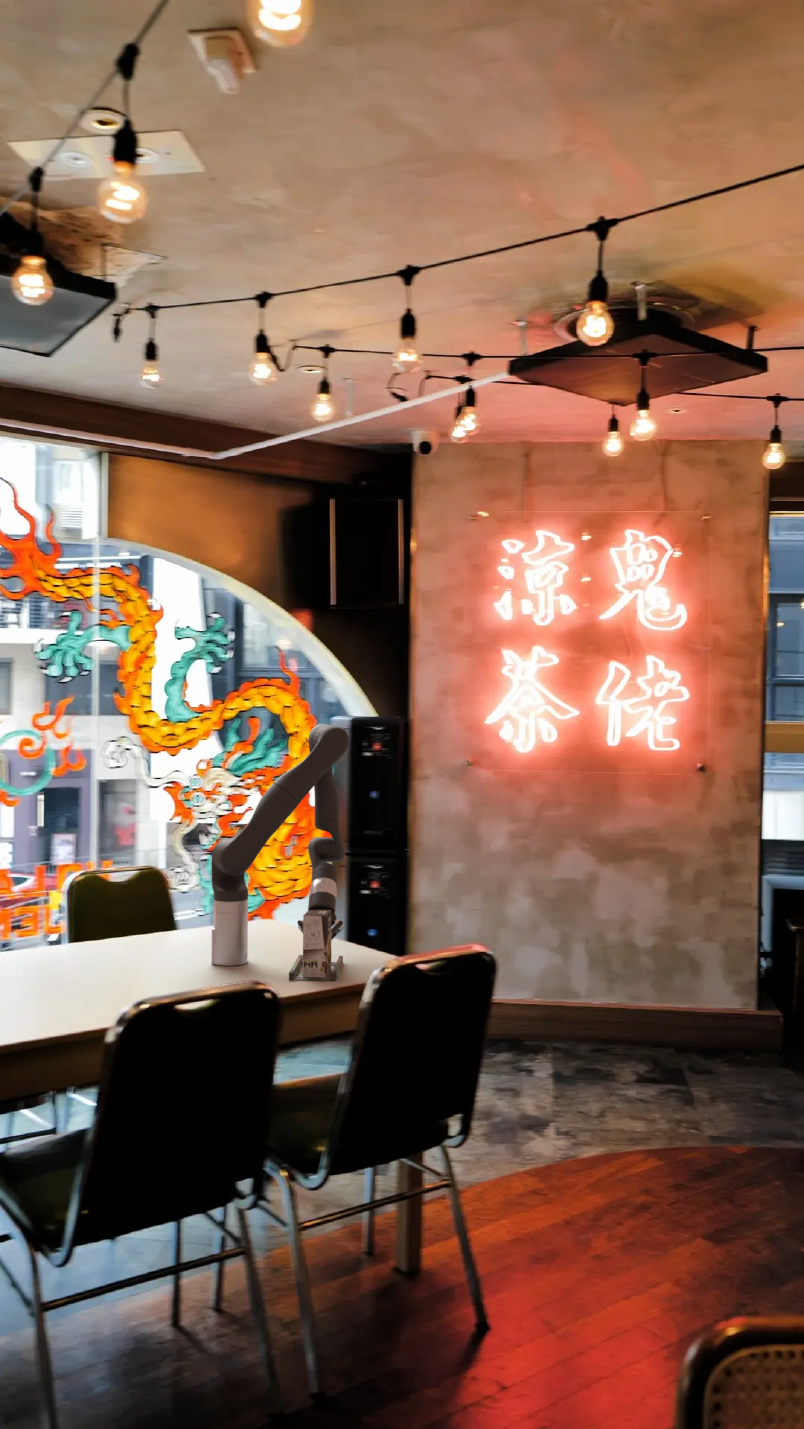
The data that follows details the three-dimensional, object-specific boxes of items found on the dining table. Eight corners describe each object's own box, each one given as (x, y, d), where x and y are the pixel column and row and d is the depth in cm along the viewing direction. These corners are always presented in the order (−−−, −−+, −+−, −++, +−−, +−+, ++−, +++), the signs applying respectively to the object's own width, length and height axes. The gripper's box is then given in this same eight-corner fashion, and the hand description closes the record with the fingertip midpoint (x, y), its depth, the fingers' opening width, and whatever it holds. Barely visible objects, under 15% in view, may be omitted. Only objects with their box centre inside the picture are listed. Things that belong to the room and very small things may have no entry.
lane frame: (288, 980, 287) (288, 972, 287) (299, 962, 308) (299, 954, 308) (335, 981, 287) (335, 973, 287) (342, 962, 308) (342, 955, 308)
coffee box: (326, 978, 290) (327, 915, 290) (301, 977, 291) (302, 914, 291) (332, 970, 299) (332, 909, 299) (308, 969, 300) (308, 908, 300)
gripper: (297, 890, 309) (292, 945, 297) (345, 890, 309) (342, 945, 297) (299, 905, 315) (294, 960, 303) (347, 905, 314) (344, 960, 302)
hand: (318, 953), depth 300 cm, fingers closed
